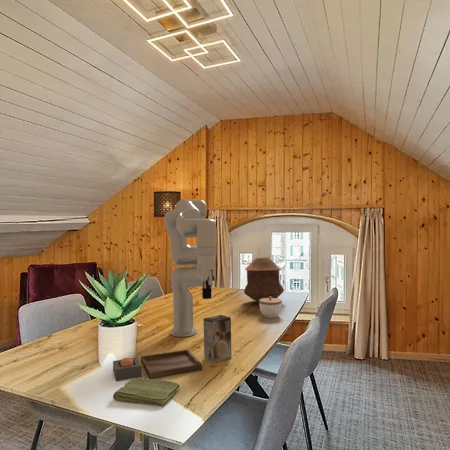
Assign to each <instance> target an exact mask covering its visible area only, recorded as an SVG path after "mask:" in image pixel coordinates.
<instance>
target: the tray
mask: <svg viewBox="0 0 450 450" xmlns="http://www.w3.org/2000/svg"><path fill="white" fill-rule="evenodd" d="M140 364H141V367H142V368H143V369H144V371H145V373H146V375H147V376H148V378H149V379H150V380H156V379H160V378H166V377H171V376H177V375H182V374H187V373H188V374H189V373H193V372H199V371H203V363H202V362H201V361H200V360H199V359H198V358H197V357H196V356H195V355H194V354H193V353H192V352H191V351H190V350H189V349H183V350H175V351H168V352H162V353H155V354H149V355H143V356H142V355H141V356H140Z"/></svg>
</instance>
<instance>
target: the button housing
mask: <svg viewBox="0 0 450 450" xmlns="http://www.w3.org/2000/svg"><path fill="white" fill-rule="evenodd" d="M132 358H133V365H131V366H125V367H121V364H120V361H121V359H117V360H113V361H112V372H114V373H113V376H114V380H115V379H116V380H115V381H116V382H120V381H126V380H131V379H134V378H142V375H143V374H142V373H143V372H142V364H141V361H140V360H139V359H138V357H137V356H136V357H132Z"/></svg>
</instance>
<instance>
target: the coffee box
mask: <svg viewBox="0 0 450 450" xmlns="http://www.w3.org/2000/svg"><path fill="white" fill-rule="evenodd" d="M203 355H204V357H203V358H204V360H207V361H208V362H210V363H212V364H216V363H219V362H222V361H224V360H228V359H231V358H232V357H233V356H232V319H231V316H227V315H222V314H219V315H213V316H209V317H205V318H204V317H203Z"/></svg>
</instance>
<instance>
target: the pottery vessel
mask: <svg viewBox="0 0 450 450" xmlns="http://www.w3.org/2000/svg"><path fill="white" fill-rule="evenodd" d="M244 270H245V271H246V278H247V279H246V280H247V281H246V282H247V283H246V284H245V287H244V290H243V293H244V295H246V296H247V297H248V298H250V299H252V300H253V301H255V302H257V303H256V304H258V305H259V300H260V299H262V298H269V297H270V296H271V298H277V299H279V297H280V296H281V295H282V294H283V293H284V291H285V289H284V288H283V286H282V284H281V283H280V271H281V267H279V266H278V265H277V263H275V262H274V261H273V260H272V259H271V258H270V257H269V256H260V257H255V258H254V260H252V261H251V262H250V264H249V265H247V266H246V267H245V268H244Z"/></svg>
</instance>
